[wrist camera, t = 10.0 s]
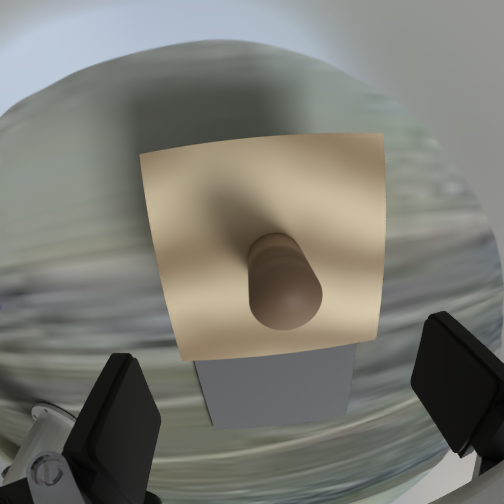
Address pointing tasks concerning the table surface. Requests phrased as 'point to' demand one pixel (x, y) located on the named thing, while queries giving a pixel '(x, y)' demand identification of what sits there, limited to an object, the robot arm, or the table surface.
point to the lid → (269, 242)
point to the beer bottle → (151, 499)
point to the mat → (277, 387)
